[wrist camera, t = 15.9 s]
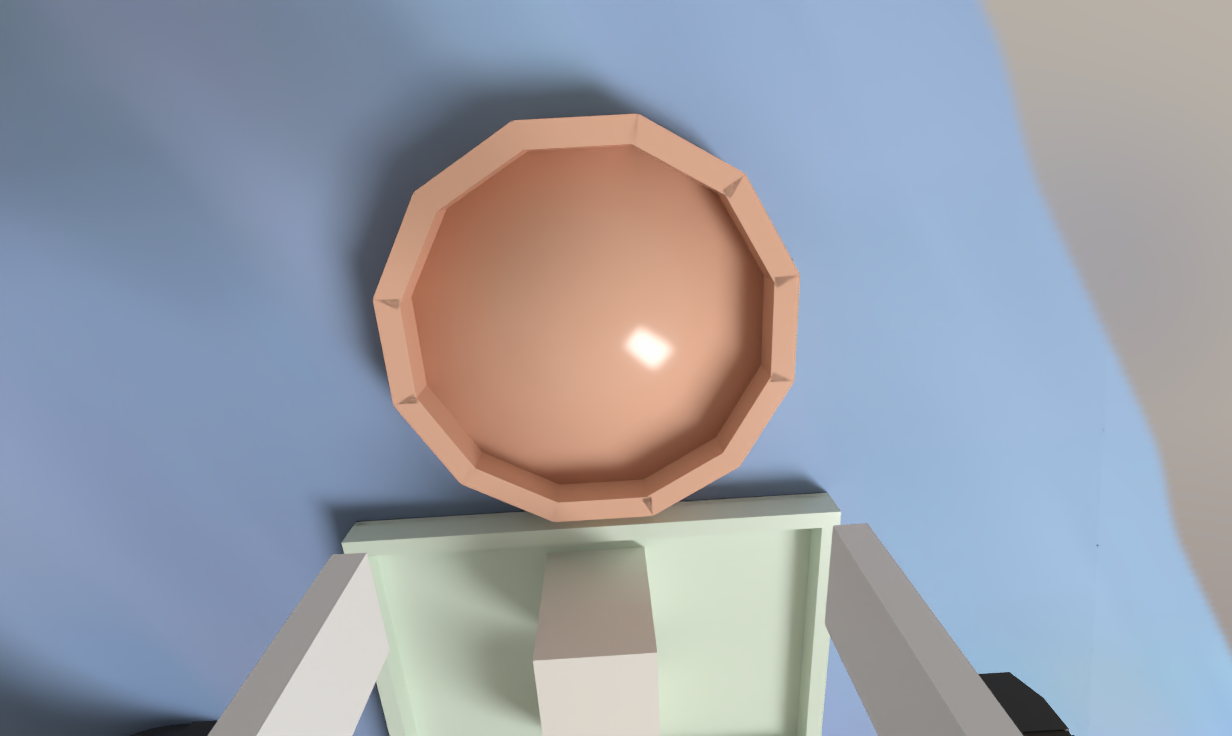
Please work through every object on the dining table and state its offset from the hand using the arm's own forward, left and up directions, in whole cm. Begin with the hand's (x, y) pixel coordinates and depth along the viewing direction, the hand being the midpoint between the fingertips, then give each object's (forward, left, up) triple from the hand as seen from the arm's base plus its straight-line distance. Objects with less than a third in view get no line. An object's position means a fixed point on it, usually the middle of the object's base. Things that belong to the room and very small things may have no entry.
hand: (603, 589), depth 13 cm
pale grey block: (-1, -10, -11) cm, 15 cm away
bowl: (0, +3, -12) cm, 12 cm away
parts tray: (-1, -13, -12) cm, 17 cm away
